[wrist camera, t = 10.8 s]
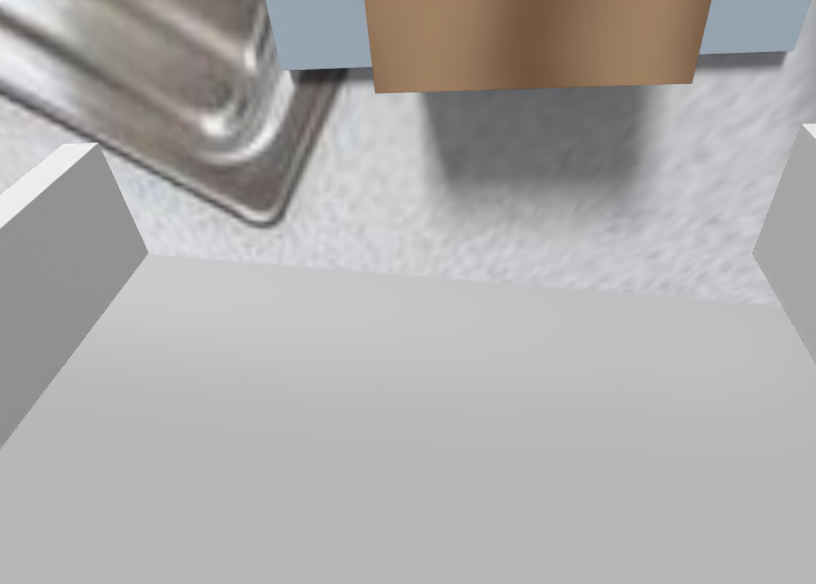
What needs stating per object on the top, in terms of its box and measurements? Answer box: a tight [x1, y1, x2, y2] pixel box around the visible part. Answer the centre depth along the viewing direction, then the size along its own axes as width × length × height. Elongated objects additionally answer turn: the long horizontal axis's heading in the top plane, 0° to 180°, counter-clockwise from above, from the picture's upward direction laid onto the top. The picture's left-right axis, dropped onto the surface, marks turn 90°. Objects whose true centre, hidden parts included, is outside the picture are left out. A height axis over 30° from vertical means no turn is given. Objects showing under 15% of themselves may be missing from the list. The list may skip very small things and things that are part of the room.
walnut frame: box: [364, 0, 712, 93], centre depth 22 cm, size 11×4×8 cm, turn 94°
